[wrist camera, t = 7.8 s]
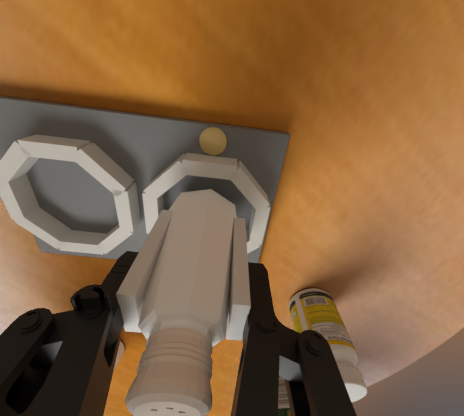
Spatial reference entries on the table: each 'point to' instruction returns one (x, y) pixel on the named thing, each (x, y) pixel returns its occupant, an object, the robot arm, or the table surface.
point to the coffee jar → (283, 399)
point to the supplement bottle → (329, 334)
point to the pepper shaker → (185, 308)
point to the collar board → (126, 173)
